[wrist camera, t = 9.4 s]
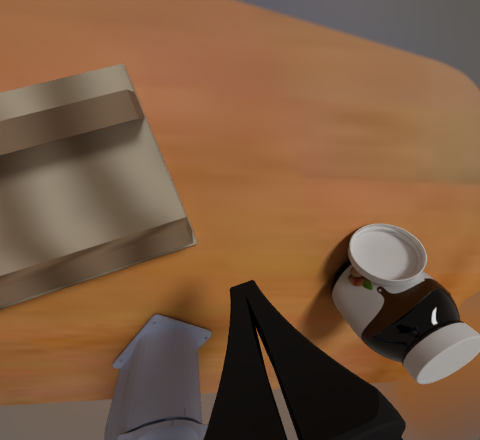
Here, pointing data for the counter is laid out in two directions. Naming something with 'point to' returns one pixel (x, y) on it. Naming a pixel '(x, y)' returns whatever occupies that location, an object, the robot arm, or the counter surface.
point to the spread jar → (401, 304)
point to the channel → (81, 185)
